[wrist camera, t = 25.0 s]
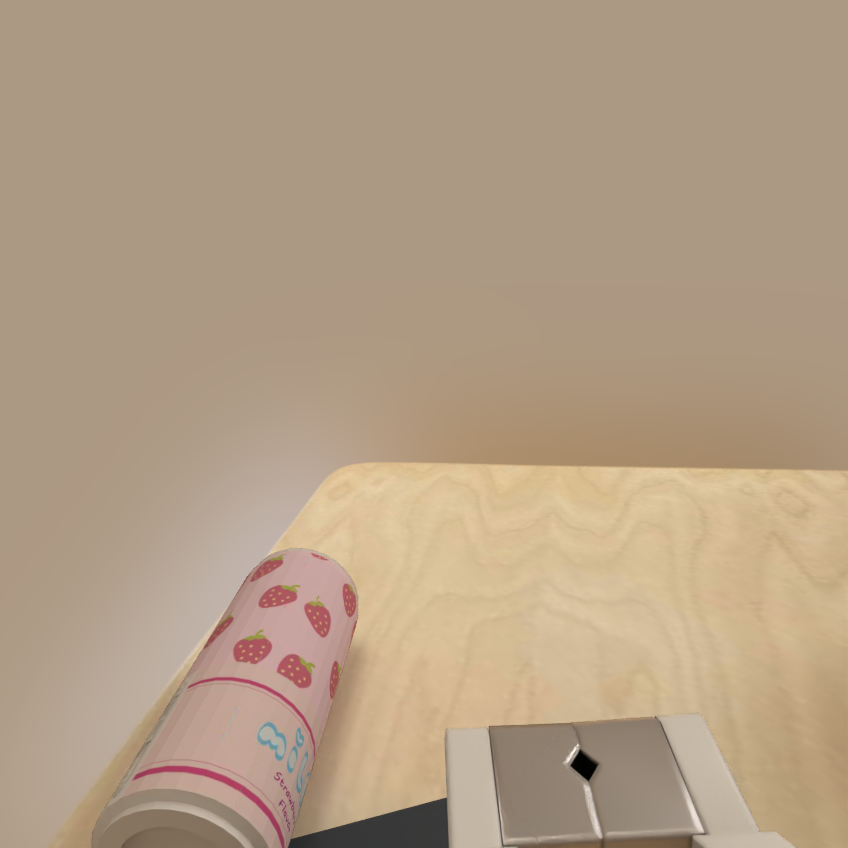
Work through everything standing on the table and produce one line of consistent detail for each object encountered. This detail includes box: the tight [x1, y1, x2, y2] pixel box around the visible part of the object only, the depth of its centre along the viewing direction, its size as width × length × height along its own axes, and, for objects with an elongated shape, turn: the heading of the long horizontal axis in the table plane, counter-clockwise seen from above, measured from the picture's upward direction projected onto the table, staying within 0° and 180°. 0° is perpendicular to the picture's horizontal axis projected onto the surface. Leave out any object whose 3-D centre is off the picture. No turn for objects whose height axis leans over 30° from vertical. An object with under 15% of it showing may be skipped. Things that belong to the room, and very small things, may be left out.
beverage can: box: [91, 548, 358, 848], centre depth 29 cm, size 6×6×15 cm
